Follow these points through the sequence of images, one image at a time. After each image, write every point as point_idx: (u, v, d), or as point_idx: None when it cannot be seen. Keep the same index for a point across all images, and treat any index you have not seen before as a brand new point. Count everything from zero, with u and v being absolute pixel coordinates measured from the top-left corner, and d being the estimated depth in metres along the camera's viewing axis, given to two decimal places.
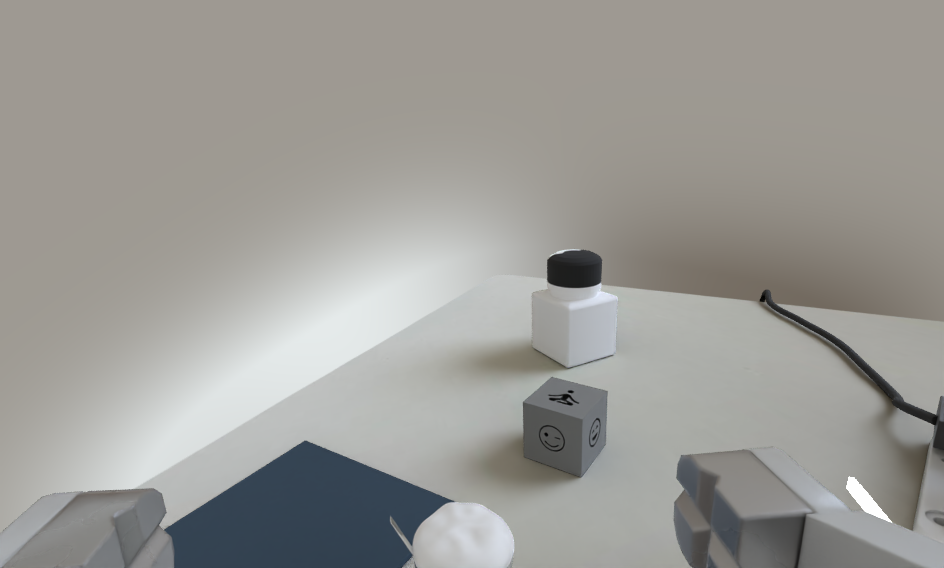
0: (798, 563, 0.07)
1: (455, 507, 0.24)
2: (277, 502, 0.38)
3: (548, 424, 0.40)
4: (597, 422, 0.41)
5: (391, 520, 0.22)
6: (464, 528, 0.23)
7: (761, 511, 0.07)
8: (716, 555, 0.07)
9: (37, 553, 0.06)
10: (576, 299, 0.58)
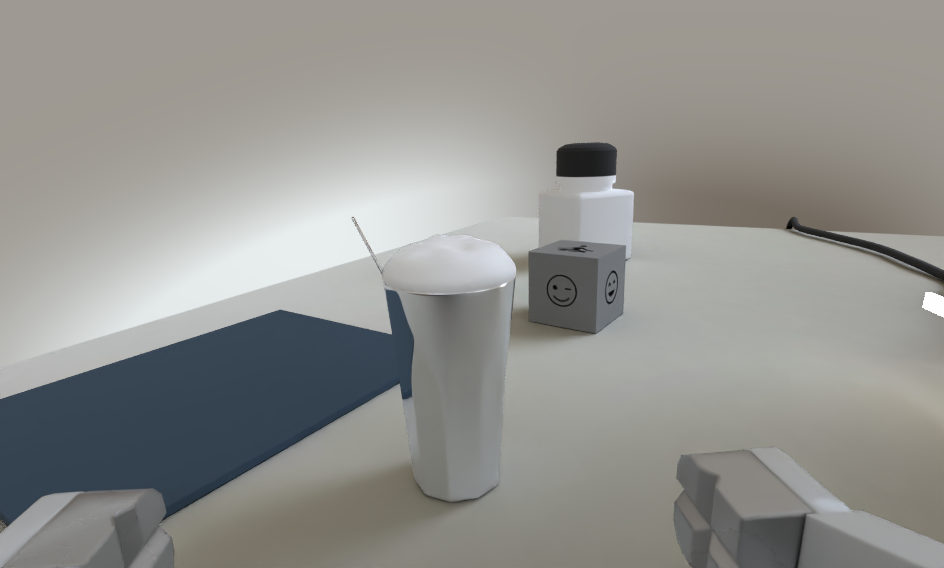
0: (799, 563, 0.07)
1: (440, 236, 0.19)
2: (239, 348, 0.32)
3: (557, 274, 0.35)
4: (614, 276, 0.36)
5: (353, 218, 0.17)
6: (451, 242, 0.17)
7: (761, 511, 0.07)
8: (716, 555, 0.07)
9: (37, 553, 0.06)
10: (588, 191, 0.52)
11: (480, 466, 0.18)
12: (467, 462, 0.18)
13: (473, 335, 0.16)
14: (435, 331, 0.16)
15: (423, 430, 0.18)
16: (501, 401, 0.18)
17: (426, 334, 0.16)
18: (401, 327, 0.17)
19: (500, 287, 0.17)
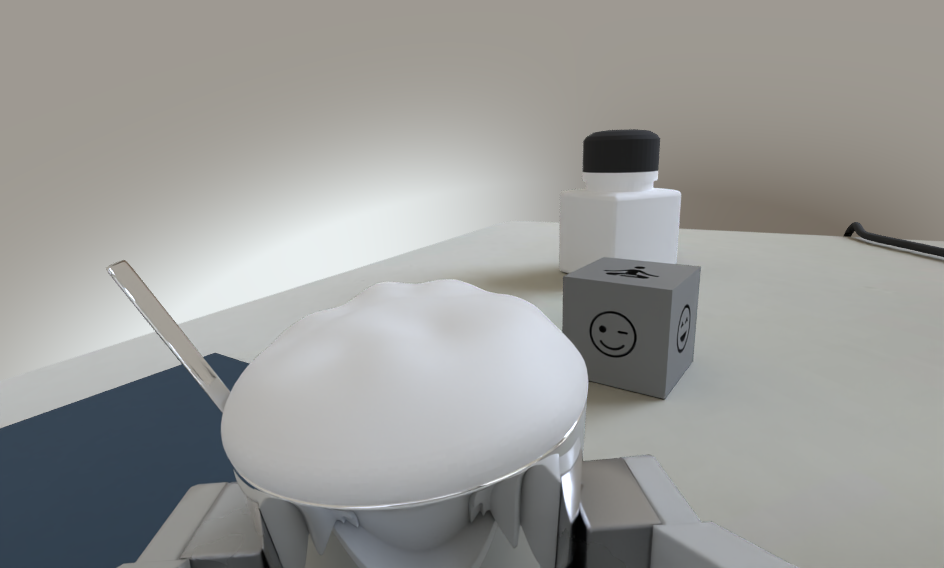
0: None
1: (389, 287, 0.08)
2: (130, 426, 0.21)
3: (607, 311, 0.24)
4: (687, 312, 0.25)
5: (117, 266, 0.06)
6: (409, 312, 0.06)
7: (611, 521, 0.07)
8: (578, 565, 0.07)
9: (211, 541, 0.06)
10: (625, 190, 0.41)
11: None
12: None
13: None
14: None
15: None
16: None
17: None
18: None
19: (556, 450, 0.05)
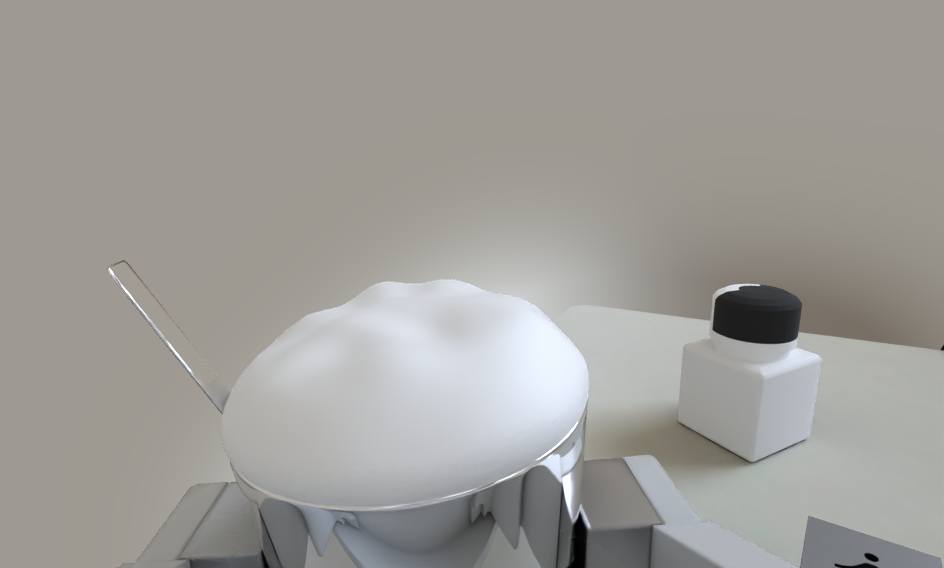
0: None
1: (389, 287, 0.08)
2: None
3: None
4: None
5: (116, 266, 0.06)
6: (409, 312, 0.06)
7: (611, 522, 0.07)
8: (578, 566, 0.07)
9: (211, 541, 0.06)
10: (765, 360, 0.39)
11: None
12: None
13: None
14: None
15: None
16: None
17: None
18: None
19: (557, 451, 0.05)
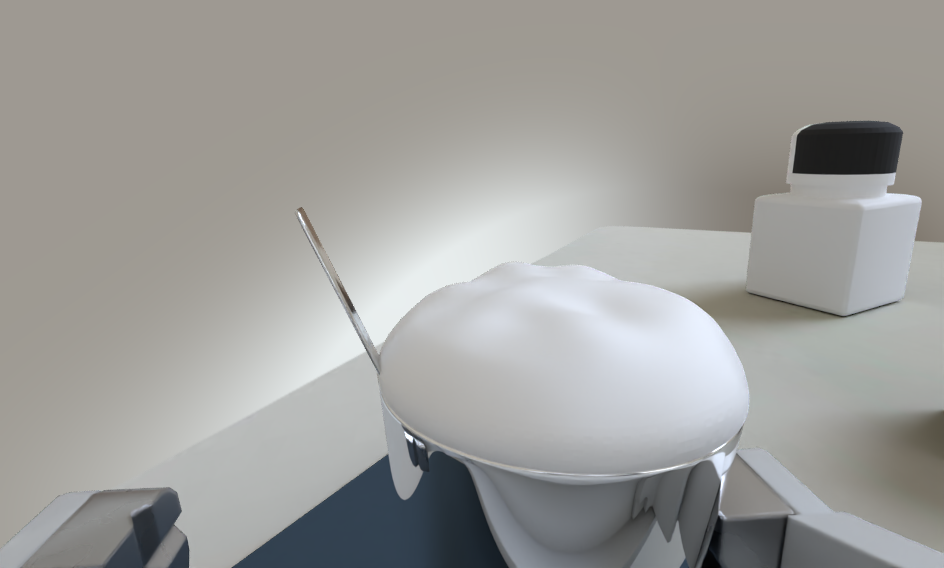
0: (781, 564, 0.07)
1: (523, 267, 0.08)
2: None
3: None
4: None
5: (301, 212, 0.06)
6: (571, 290, 0.06)
7: (743, 512, 0.07)
8: None
9: (57, 552, 0.06)
10: (860, 196, 0.33)
11: None
12: None
13: None
14: None
15: None
16: None
17: None
18: (428, 536, 0.06)
19: (736, 439, 0.05)
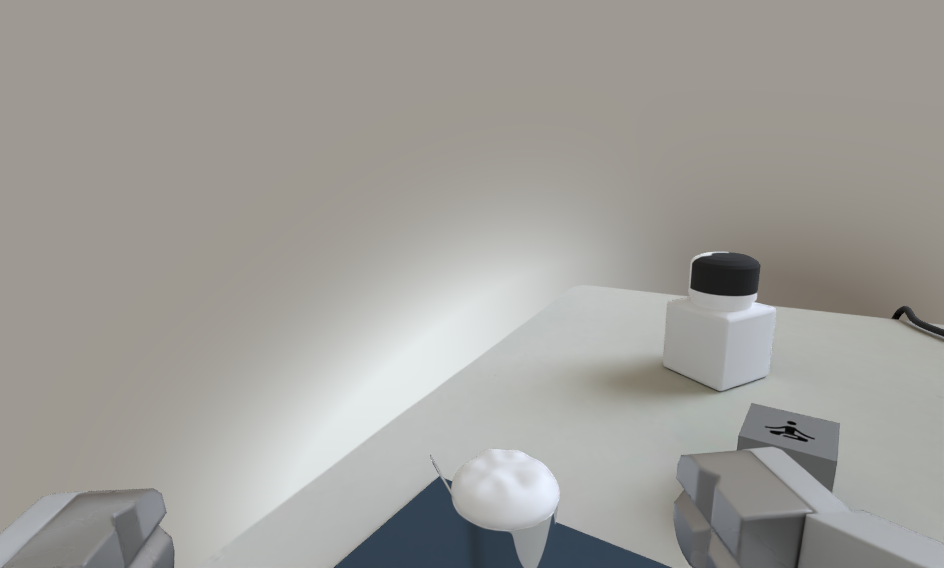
0: (798, 562, 0.07)
1: (495, 452, 0.23)
2: (436, 564, 0.29)
3: None
4: None
5: (431, 458, 0.21)
6: (508, 470, 0.22)
7: (761, 511, 0.07)
8: (716, 555, 0.07)
9: (37, 553, 0.06)
10: (731, 309, 0.49)
11: None
12: None
13: (528, 556, 0.21)
14: (498, 555, 0.20)
15: None
16: None
17: (491, 556, 0.21)
18: (469, 545, 0.21)
19: (549, 517, 0.21)
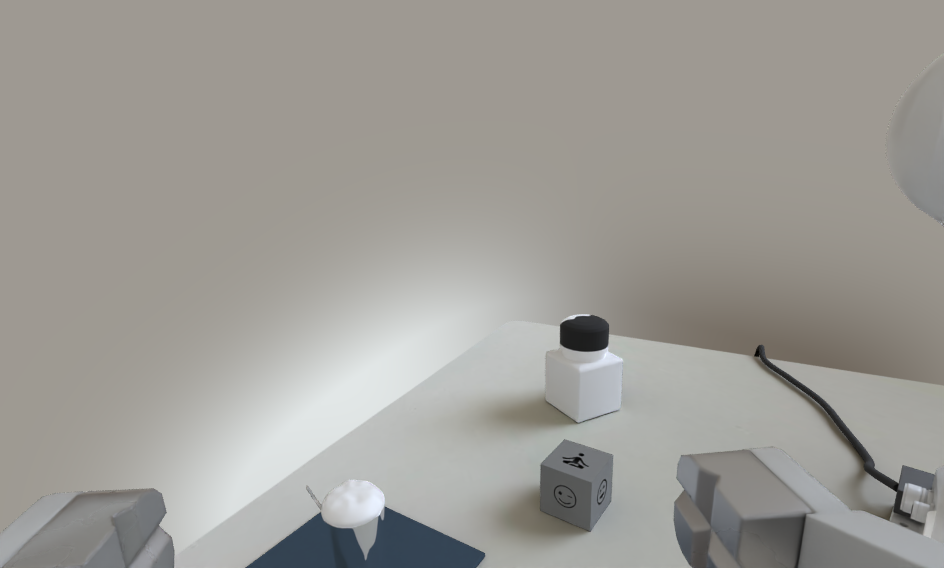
0: (799, 562, 0.07)
1: (351, 482, 0.39)
2: None
3: (562, 485, 0.47)
4: (604, 482, 0.48)
5: (307, 487, 0.37)
6: (353, 493, 0.38)
7: (761, 511, 0.07)
8: (716, 555, 0.07)
9: (37, 553, 0.06)
10: (586, 361, 0.65)
11: None
12: None
13: (360, 542, 0.37)
14: (343, 541, 0.37)
15: None
16: (378, 563, 0.39)
17: (339, 542, 0.37)
18: (329, 536, 0.37)
19: (372, 520, 0.37)
